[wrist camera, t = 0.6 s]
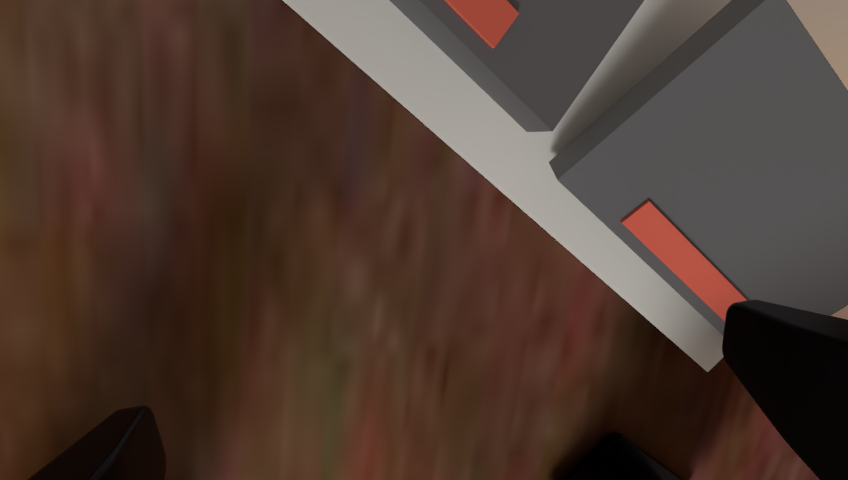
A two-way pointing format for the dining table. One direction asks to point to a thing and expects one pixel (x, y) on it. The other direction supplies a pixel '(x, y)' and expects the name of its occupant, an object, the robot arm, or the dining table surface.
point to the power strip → (531, 134)
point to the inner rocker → (728, 166)
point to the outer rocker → (525, 47)
